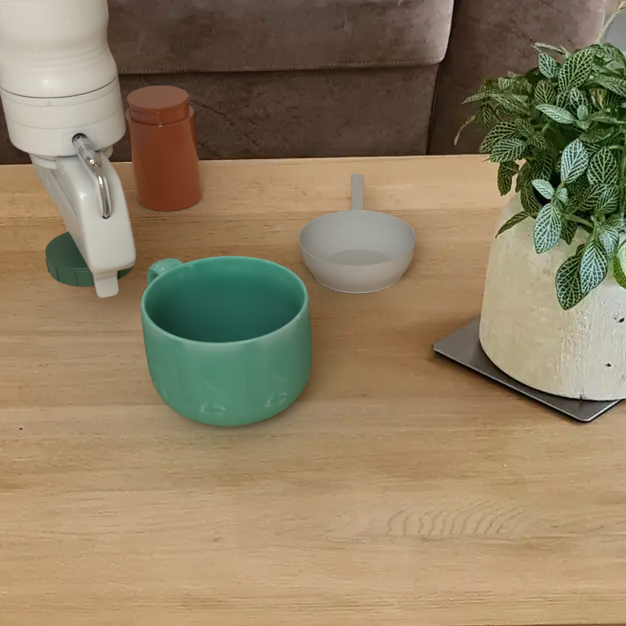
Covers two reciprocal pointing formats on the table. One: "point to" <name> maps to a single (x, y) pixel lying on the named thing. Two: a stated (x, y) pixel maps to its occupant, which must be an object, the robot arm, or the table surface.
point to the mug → (226, 337)
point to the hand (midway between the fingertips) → (93, 269)
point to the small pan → (357, 246)
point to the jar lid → (70, 262)
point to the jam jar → (163, 148)
